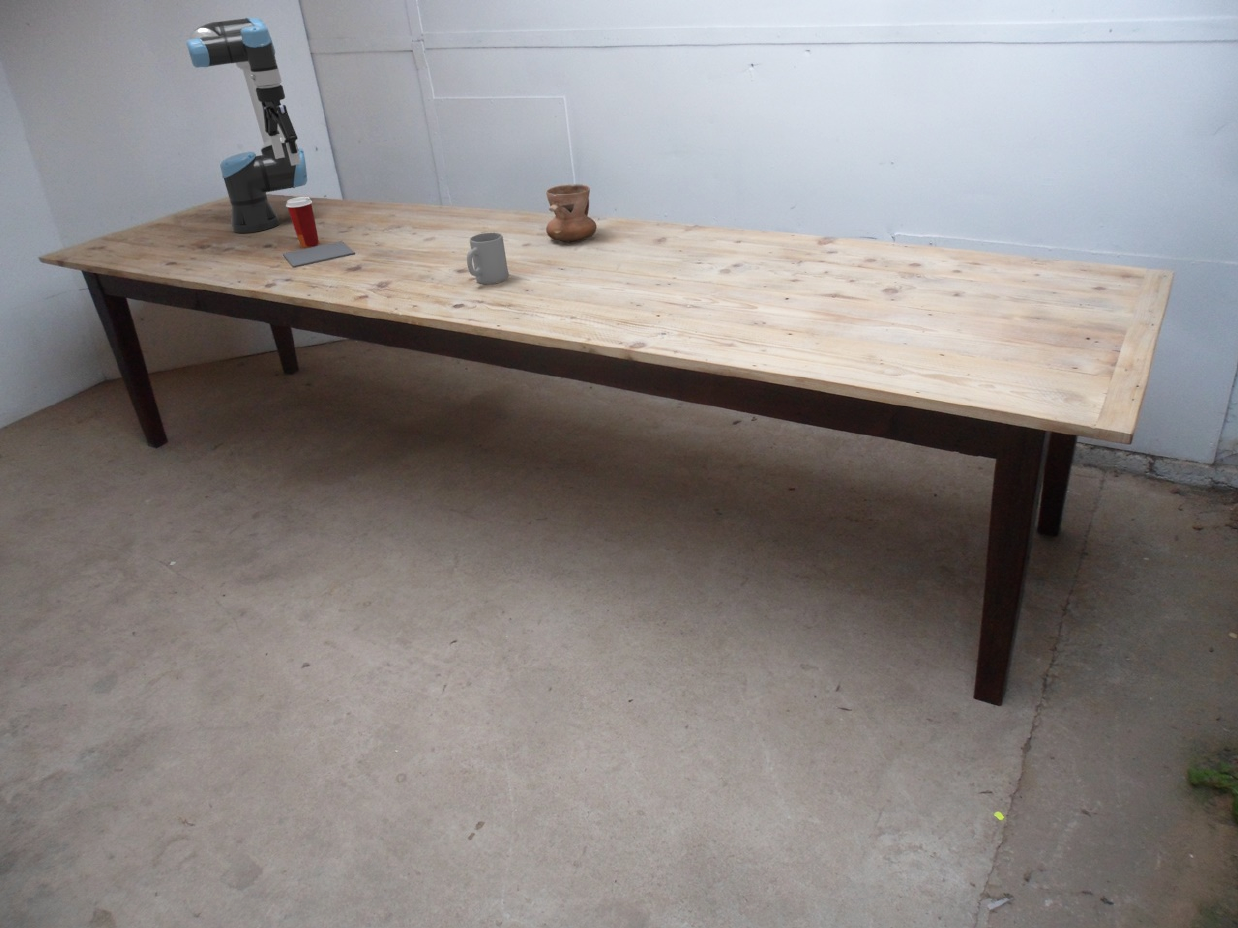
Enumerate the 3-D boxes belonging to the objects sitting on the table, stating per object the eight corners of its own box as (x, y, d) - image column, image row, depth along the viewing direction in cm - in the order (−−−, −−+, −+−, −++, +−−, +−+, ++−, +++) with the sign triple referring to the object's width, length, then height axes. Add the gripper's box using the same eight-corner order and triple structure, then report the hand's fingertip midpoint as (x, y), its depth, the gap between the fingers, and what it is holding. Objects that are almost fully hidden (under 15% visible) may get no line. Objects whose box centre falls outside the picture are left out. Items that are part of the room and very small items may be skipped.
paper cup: (326, 240, 284) (315, 195, 277) (317, 248, 277) (305, 202, 270) (302, 242, 285) (290, 197, 278) (292, 249, 278) (280, 203, 271)
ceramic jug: (576, 249, 253) (571, 197, 246) (534, 244, 260) (529, 194, 253) (611, 232, 266) (607, 183, 259) (571, 228, 273) (566, 179, 266)
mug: (490, 272, 242) (484, 231, 236) (515, 275, 237) (509, 234, 232) (460, 286, 234) (452, 244, 228) (485, 290, 229) (478, 247, 224)
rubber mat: (283, 255, 274) (282, 253, 273) (342, 242, 280) (342, 240, 280) (293, 267, 261) (293, 266, 261) (355, 254, 268) (354, 252, 268)
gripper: (241, 84, 269) (261, 157, 280) (270, 92, 251) (290, 170, 262) (266, 80, 272) (285, 152, 283) (296, 87, 255) (315, 164, 266)
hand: (288, 161), depth 273 cm, fingers open, 13 cm apart
